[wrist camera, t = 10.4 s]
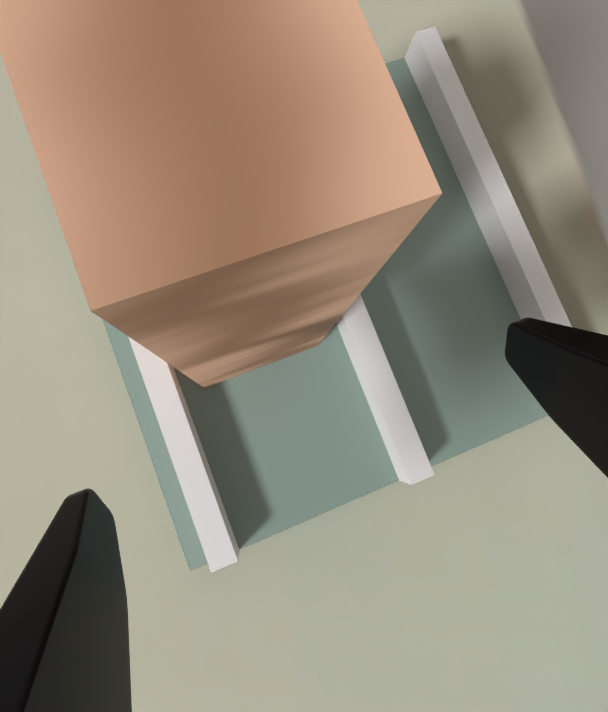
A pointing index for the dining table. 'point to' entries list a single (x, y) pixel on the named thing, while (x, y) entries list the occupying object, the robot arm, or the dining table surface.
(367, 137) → the plug block
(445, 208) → the slot board
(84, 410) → the dining table surface
